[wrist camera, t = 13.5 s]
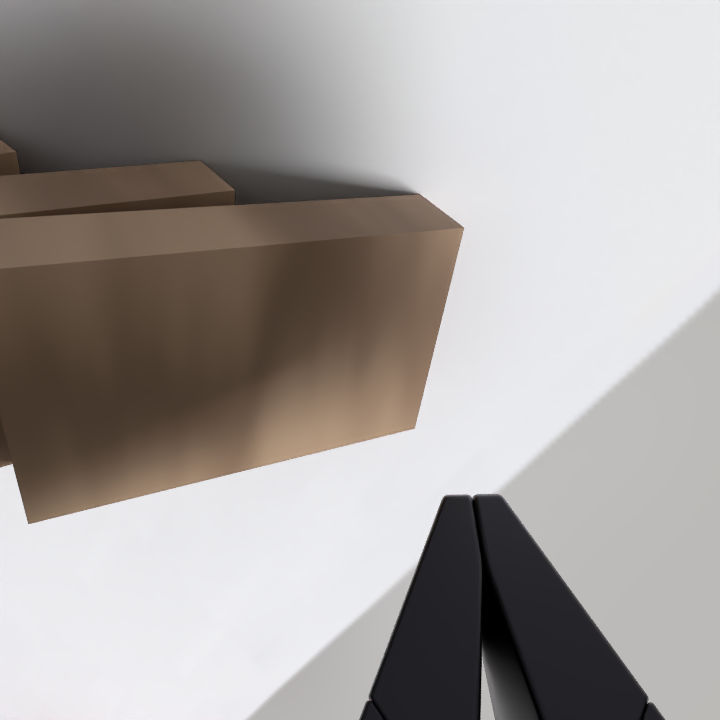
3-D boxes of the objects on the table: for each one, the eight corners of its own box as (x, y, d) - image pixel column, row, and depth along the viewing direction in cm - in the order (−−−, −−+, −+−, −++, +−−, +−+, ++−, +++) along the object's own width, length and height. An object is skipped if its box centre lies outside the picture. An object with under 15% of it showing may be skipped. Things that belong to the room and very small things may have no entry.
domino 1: (200, 160, 13) (-370, 205, 8) (234, 190, 12) (-395, 257, 7) (203, 361, 15) (-220, 468, 11) (231, 399, 14) (-222, 532, 10)
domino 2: (420, 194, 13) (-38, 221, 9) (464, 228, 12) (-38, 272, 8) (382, 386, 16) (22, 462, 12) (414, 428, 15) (28, 524, 11)
